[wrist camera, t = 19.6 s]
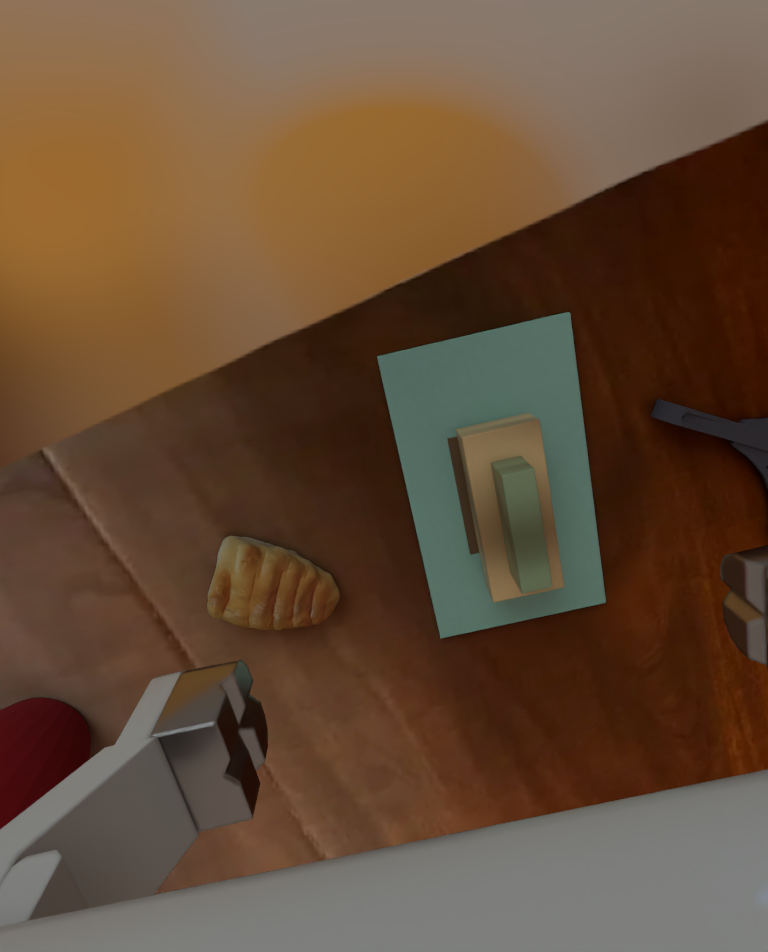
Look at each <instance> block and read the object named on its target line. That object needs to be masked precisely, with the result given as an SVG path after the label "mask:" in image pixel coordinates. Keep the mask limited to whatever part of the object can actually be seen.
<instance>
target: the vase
mask: <svg viewBox="0 0 768 952" xmlns="http://www.w3.org/2000/svg"><path fill="white" fill-rule="evenodd" d="M88 760H90V733H89V729H88V726H87V724H86V722H85V720H84V719H83V718H82V716H81V715H80V714H79V713H78V712H77V711H76V710H75V709H73V708H72V707H70V706H68V705H67V704H65V703H62V702H60V701H57V700H53V699H50V698H31V699H27V700H23V701H20V702H18V703H15V704H13V705H11V706H8V707H6V708H4V709H2V710H0V829H2V828H3V827H4V826H5V825H7V824H8V823H9V822H10V821H12V820H13V819H14V818H16V817H17V816H18V815H19V814H21V813H22V812H23V811H24V810H26V809H27V808H28V807H30V806H31V805H32V804H33V803H35V802H36V801H37V800H39V799H40V798H41V797H42V796H44V795H45V794H46V793H47V792H49V791H50V790H51V789H53V788H54V787H55V786H56V785H58V784H59V783H60V782H61V781H63V780H64V779H65V778H67V777H68V776H69V775H70V774H72V773H73V772H74V771H75V770H77V769H78V768H79V767H81V766H82V765H83V764H84V763H86V762H87V761H88Z"/></svg>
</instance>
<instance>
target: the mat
mask: <svg viewBox="0 0 768 952" xmlns="http://www.w3.org/2000/svg"><path fill="white" fill-rule="evenodd" d="M377 359H378V364H379V368H380V373H381V377H382V382H383V386H384V390H385V395H386V399H387V404H388V408H389V413H390V417H391V421H392V426H393V430H394V435H395V439H396V444H397V448H398V452H399V457H400V461H401V466H402V470H403V475H404V479H405V483H406V488H407V492H408V497H409V501H410V506H411V510H412V514H413V519H414V523H415V528H416V532H417V536H418V541H419V545H420V550H421V554H422V559H423V563H424V567H425V572H426V576H427V581H428V585H429V590H430V594H431V598H432V603H433V607H434V612H435V616H436V621H437V625H438V629H439V634H440V638H445V637H450V636H455V635H459V634H464V633H468V632H473V631H478V630H482V629H487V628H491V627H496V626H501V625H505V624H510V623H515V622H519V621H524V620H528V619H533V618H538V617H542V616H547V615H551V614H556V613H561V612H565V611H570V610H574V609H579V608H584V607H588V606H593V605H598V604H602V603H606V599H605V590H604V582H603V574H602V566H601V558H600V550H599V542H598V534H597V526H596V518H595V510H594V502H593V494H592V485H591V477H590V469H589V461H588V453H587V445H586V437H585V429H584V421H583V413H582V405H581V397H580V389H579V380H578V372H577V364H576V356H575V348H574V340H573V332H572V324H571V316H570V312H565V313H561V314H556V315H552V316H548V317H544V318H539V319H535V320H531V321H527V322H522V323H518V324H514V325H509V326H505V327H501V328H497V329H492V330H488V331H484V332H479V333H475V334H471V335H467V336H462V337H458V338H454V339H449V340H445V341H441V342H437V343H432V344H428V345H424V346H419V347H415V348H411V349H407V350H402V351H398V352H394V353H389V354H385V355H381V356H377ZM524 413H530V414H531V415H533V416H534V417H536V418H537V419H539V420H540V425H541V432H542V439H543V446H544V452H545V459H546V466H547V473H548V480H549V486H550V493H551V500H552V507H553V513H554V520H555V527H556V534H557V540H558V547H559V554H560V561H561V568H562V574H563V581H564V587H563V588H559V589H554V590H549V591H545V592H540V593H536V594H531V595H527V596H522V597H517V598H513V599H508V600H504V601H499V602H495V603H494V602H493V601H492V599H491V597H490V594H489V592H488V590H487V587H486V584H485V579H484V574H483V569H482V564H481V558H480V553H479V548H478V543H477V538H476V532H475V527H474V522H473V517H472V512H471V507H470V501H469V496H468V491H467V486H466V481H465V476H464V470H463V465H462V460H461V455H460V450H459V445H458V439H457V434H456V429H459V428H463V427H467V426H472V425H476V424H480V423H485V422H489V421H494V420H498V419H502V418H507V417H511V416H515V415H520V414H524Z"/></svg>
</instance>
